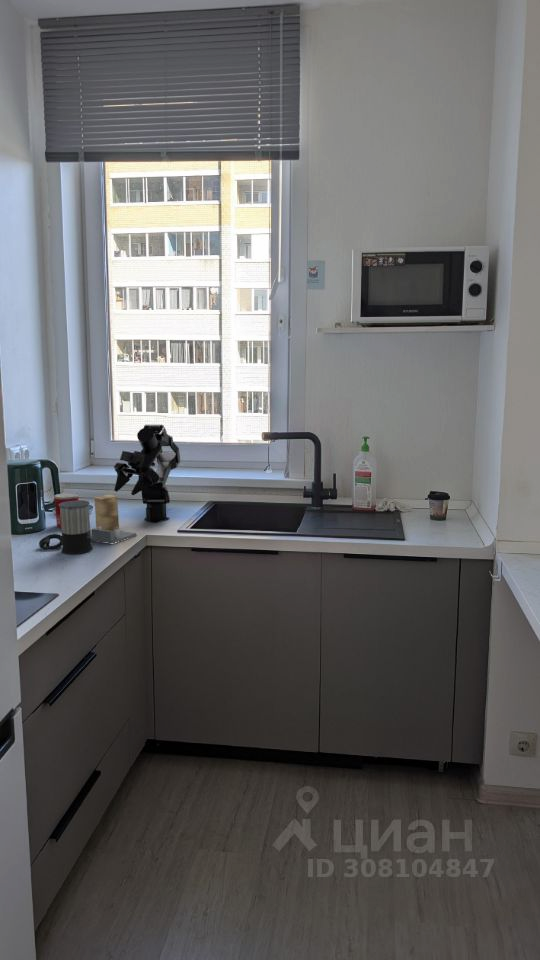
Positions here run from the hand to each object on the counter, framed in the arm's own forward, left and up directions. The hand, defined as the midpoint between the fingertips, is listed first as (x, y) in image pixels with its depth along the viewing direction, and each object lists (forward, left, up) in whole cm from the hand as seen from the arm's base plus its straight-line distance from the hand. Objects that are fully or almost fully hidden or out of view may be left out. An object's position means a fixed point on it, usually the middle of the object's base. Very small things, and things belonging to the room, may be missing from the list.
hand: (123, 492), depth 252 cm
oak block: (+7, -1, -12) cm, 14 cm away
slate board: (+10, +8, -12) cm, 18 cm away
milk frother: (+27, +8, -13) cm, 31 cm away
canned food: (+11, -18, -13) cm, 25 cm away
